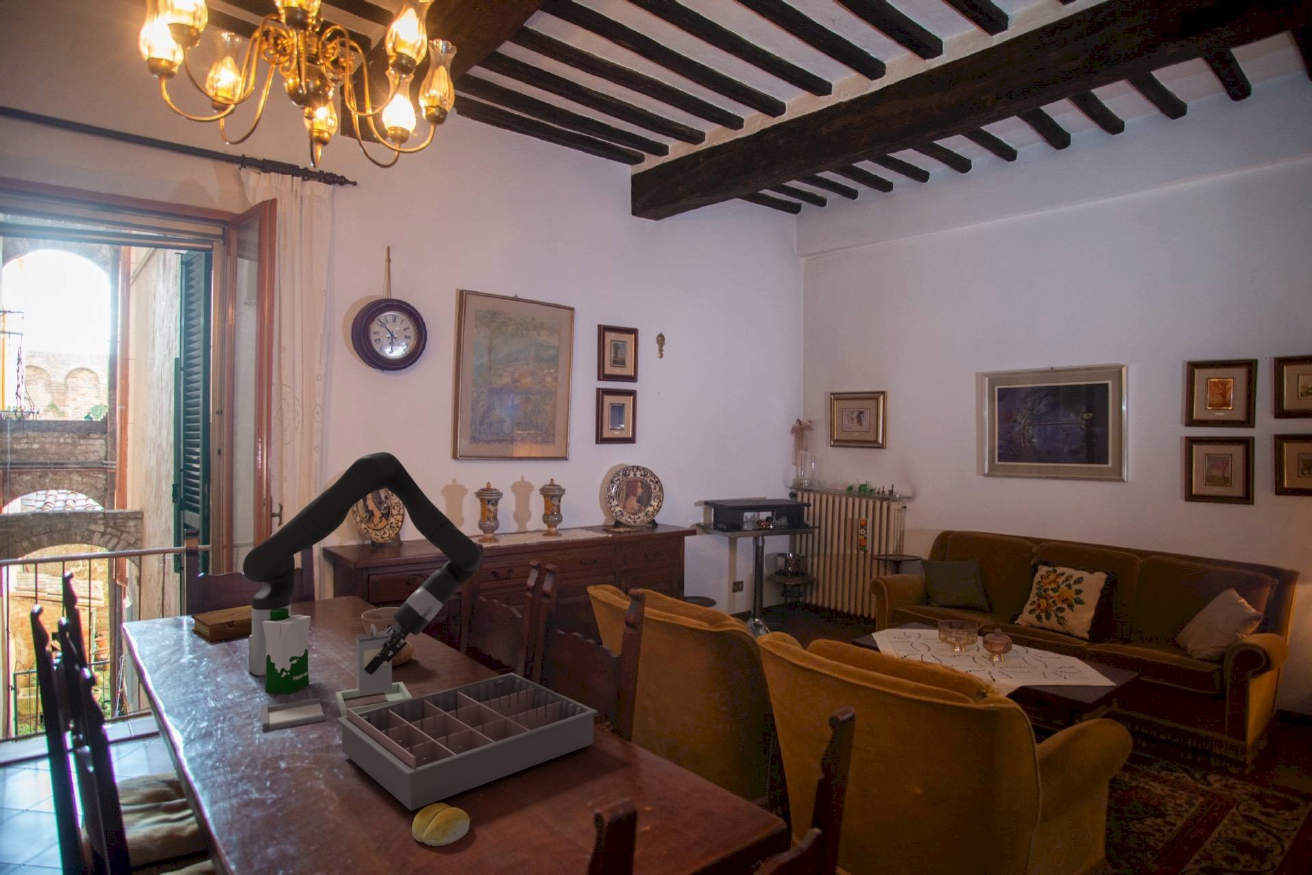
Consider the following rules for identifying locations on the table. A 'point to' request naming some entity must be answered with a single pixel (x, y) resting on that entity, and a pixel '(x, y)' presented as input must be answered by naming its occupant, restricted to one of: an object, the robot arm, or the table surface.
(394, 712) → the organizer tray
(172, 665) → the table surface
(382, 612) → the ceramic jug
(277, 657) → the milk carton
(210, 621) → the diary
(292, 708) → the bay
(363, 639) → the labeled grey carton
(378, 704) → the tray
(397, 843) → the table surface
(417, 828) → the bread roll
